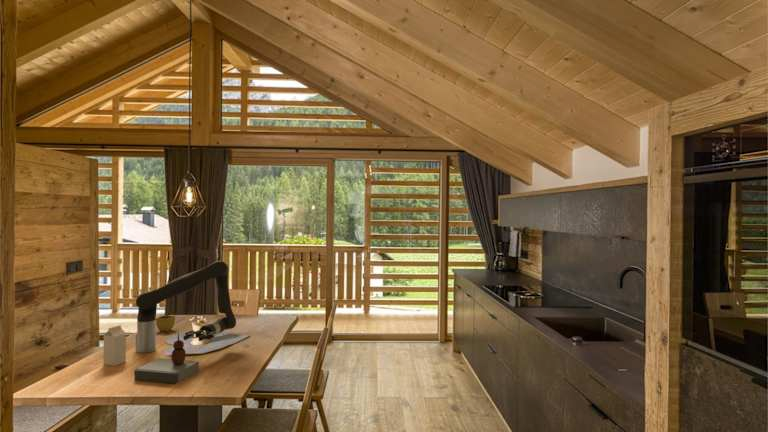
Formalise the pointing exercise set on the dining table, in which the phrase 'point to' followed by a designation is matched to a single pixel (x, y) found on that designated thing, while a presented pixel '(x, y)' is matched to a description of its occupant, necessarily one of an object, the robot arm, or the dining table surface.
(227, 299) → the robot arm
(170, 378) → the block
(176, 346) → the wooden figurine
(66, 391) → the dining table surface
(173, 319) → the flower pot
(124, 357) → the milk carton
